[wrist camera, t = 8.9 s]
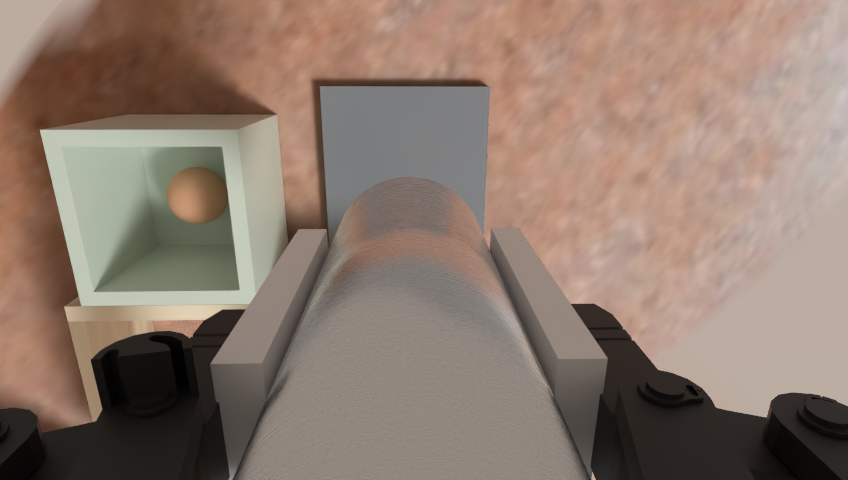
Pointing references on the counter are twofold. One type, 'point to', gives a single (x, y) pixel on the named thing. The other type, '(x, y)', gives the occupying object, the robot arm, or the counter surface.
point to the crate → (120, 331)
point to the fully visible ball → (197, 195)
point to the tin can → (410, 359)
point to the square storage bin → (167, 207)
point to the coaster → (403, 141)
